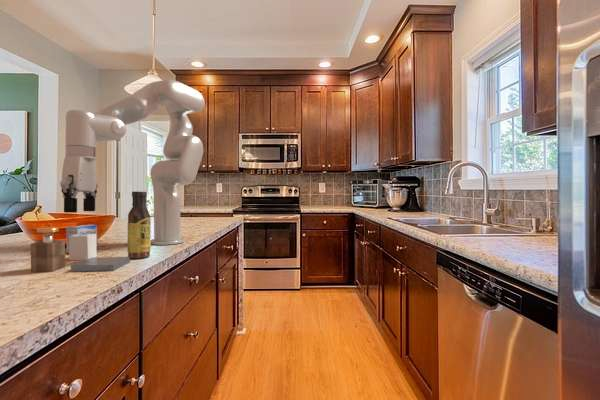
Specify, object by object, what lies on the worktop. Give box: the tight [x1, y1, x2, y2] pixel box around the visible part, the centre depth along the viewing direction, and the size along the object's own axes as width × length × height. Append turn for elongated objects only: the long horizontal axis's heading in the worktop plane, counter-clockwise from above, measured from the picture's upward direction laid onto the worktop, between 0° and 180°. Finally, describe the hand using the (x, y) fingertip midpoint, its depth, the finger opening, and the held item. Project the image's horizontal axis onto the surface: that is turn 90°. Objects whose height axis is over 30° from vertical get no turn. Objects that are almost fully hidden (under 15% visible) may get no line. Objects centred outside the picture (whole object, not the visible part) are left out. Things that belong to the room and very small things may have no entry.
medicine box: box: [65, 224, 98, 254], centre depth 108 cm, size 8×4×9 cm, turn 168°
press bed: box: [70, 256, 131, 272], centre depth 87 cm, size 10×10×2 cm
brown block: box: [30, 239, 66, 273], centre depth 84 cm, size 5×5×7 cm
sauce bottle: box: [127, 190, 152, 260], centre depth 99 cm, size 7×6×20 cm
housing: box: [68, 234, 98, 261], centre depth 98 cm, size 5×5×7 cm
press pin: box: [36, 226, 60, 243], centre depth 83 cm, size 4×4×6 cm
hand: (80, 211), depth 97 cm, fingers open, 9 cm apart
